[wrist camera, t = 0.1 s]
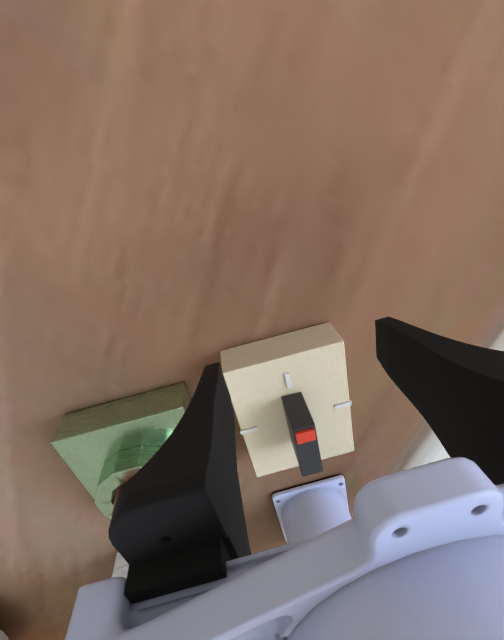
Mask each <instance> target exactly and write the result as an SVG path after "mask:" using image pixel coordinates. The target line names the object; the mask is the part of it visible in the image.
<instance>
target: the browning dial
mask: <svg viewBox="0 0 504 640" xmlns="http://www.w3.org/2000/svg"><path fill="white" fill-rule="evenodd" d="M281 399H282V403H283V407H284V412H285V416H286V420H287V425H288V429H289V433H290V437H291V442H292V445H293V448H294V451H295V454H296V457H297V461H298V464H299V467H300V470H301V473H302V476H306V475H310V474H314V473H317V472H321V471H323V467H322V462H321V456H320V450H319V444H318V439H317V433H316V427H315V423H314V421H313V418H312V416H311V414H310V411H309V409H308V407H307V404H306V402H305V399H304V397H303V395H302V392H298V393H295V394H291V395H287V396H284V397H281Z"/></svg>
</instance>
